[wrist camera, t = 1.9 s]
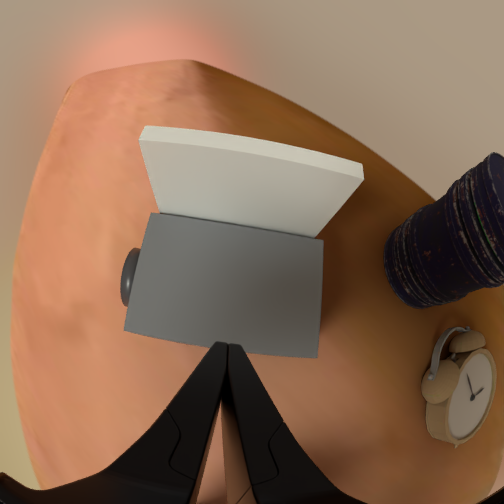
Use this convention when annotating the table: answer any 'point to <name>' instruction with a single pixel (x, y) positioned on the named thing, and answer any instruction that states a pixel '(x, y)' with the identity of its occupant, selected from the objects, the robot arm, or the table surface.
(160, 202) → the door
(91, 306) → the table surface
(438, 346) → the alarm clock
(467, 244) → the storage jar
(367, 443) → the table surface
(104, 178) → the table surface
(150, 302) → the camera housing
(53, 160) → the table surface
